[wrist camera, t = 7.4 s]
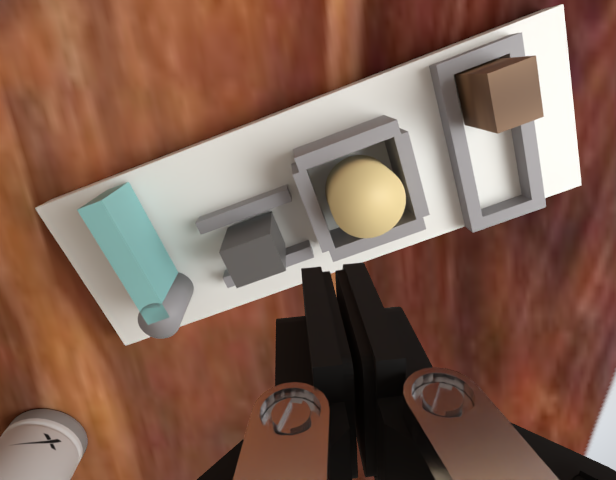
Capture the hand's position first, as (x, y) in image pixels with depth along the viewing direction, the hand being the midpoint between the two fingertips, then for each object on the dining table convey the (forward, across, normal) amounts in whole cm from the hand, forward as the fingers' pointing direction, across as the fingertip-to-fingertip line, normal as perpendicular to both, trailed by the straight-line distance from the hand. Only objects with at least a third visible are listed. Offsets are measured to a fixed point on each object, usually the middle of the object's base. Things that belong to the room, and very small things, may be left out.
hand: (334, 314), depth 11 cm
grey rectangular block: (+15, +3, +4) cm, 16 cm away
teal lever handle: (+15, +10, +4) cm, 19 cm away
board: (+18, -1, +1) cm, 18 cm away
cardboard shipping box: (+15, -11, -4) cm, 19 cm away
